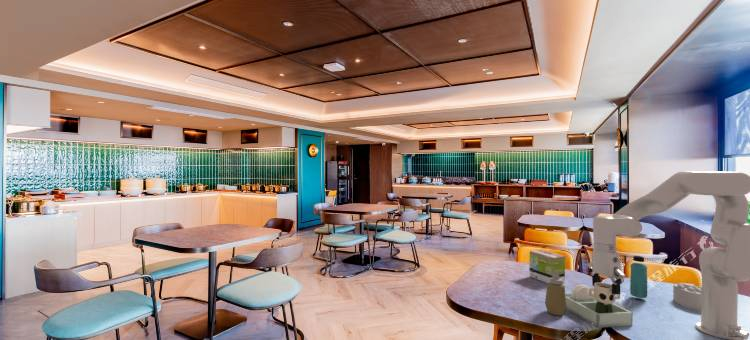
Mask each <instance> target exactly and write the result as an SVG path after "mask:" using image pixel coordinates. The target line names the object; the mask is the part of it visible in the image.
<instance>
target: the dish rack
mask: <svg viewBox="0 0 750 340" xmlns="http://www.w3.org/2000/svg"><path fill="white" fill-rule="evenodd" d="M565 296H566V309H565V310H567V311H568V312H571V314H572V313H573V315H575V316H578V317H579V318H581V317H582V318H584V319H585V320H584V319H583V320H584V321H586V320H588V321H589V322H591V323H593V324H594V325H596V326H595V327H596V328H599V329H600V328H612V327H614V328H615V327H627V326H628V327H630V326H633V321H634V320H633V318H634V317H633V316H634V315H633V311H631V310H629V309H626V308H624V307H621V306H620V305H617V304H615V303H612V304H611V305H612V309H613V313H599V314H598V313H596V312H595V308H596V303H597V300H588V301H576V299H572V292H565ZM582 318H581V319H582ZM588 321H587V322H588ZM589 322H588V323H589ZM591 323H590V324H591ZM593 324H592V325H593ZM594 325H593V326H594Z"/></svg>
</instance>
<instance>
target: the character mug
mask: <svg viewBox="0 0 750 340" xmlns="http://www.w3.org/2000/svg"><path fill="white" fill-rule="evenodd" d="M589 288H590V289H589V296H591V297H594V298H595V300H597V303H596V308H595V312H596V313H598V314H599V313H613V309H612V305H611V304H612V303H613V304H615V302H616V300H620V299H621V293H620V294H615V295H614V294H612V284H610V283H607V282H600V283H594V286H593V288H591V287H589ZM592 291H594V294H592ZM616 295H617V296H616Z"/></svg>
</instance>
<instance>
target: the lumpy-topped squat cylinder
mask: <svg viewBox="0 0 750 340" xmlns="http://www.w3.org/2000/svg"><path fill="white" fill-rule="evenodd" d="M672 293H673V295H672V298H673V299H672V300H673V302H675V303H676V304H678V305H679V306H681V307H685V308H687V309H690V310H691V309H692V310H695V311H701V297H702V285H700V286H696V285H695V284H694V283H689V282H688V283H686V282H678V283H674V284H673V291H672Z"/></svg>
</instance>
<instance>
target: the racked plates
mask: <svg viewBox="0 0 750 340" xmlns="http://www.w3.org/2000/svg"><path fill="white" fill-rule="evenodd" d="M590 288H591V287H589V286H587V285H585V284H579V285H576V286H575V287H574V288H573V289H572V291H571V293H572V299H576V301H588V300H595V298H594V297H591V296H589V289H590ZM592 294H594V291H592Z"/></svg>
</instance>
